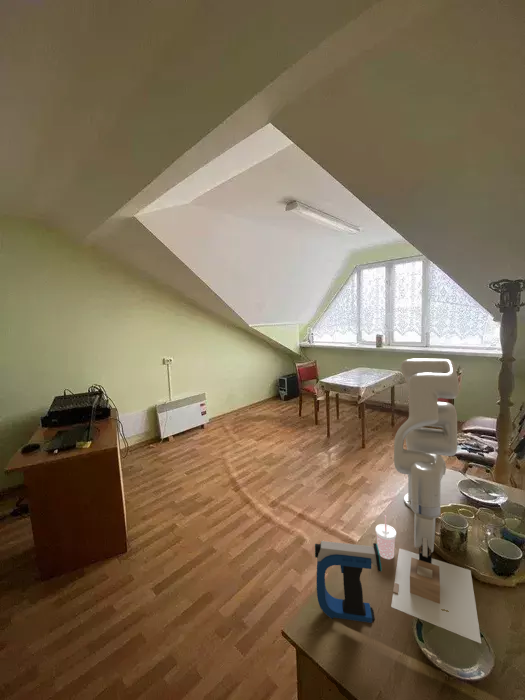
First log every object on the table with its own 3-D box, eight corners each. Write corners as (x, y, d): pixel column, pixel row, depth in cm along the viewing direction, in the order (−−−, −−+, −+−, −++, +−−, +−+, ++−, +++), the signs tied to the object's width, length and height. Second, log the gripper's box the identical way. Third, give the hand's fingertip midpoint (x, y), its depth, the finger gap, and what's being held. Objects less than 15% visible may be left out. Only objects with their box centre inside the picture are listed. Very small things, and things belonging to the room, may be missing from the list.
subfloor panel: (390, 548, 97) (390, 544, 96) (481, 577, 85) (481, 572, 84) (380, 606, 78) (380, 601, 78) (495, 654, 66) (495, 647, 66)
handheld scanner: (383, 630, 72) (382, 555, 70) (317, 620, 75) (314, 548, 74) (380, 612, 76) (378, 541, 75) (317, 603, 80) (314, 535, 78)
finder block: (411, 572, 86) (411, 556, 85) (439, 582, 82) (439, 565, 82) (409, 592, 80) (409, 574, 79) (439, 603, 76) (439, 585, 76)
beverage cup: (374, 547, 97) (374, 508, 96) (394, 550, 96) (394, 510, 94) (376, 562, 92) (376, 520, 90) (398, 566, 90) (397, 523, 88)
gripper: (412, 489, 94) (412, 542, 95) (409, 517, 81) (409, 578, 82) (439, 495, 90) (439, 550, 92) (441, 525, 77) (440, 589, 79)
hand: (425, 563), depth 87 cm, fingers closed
